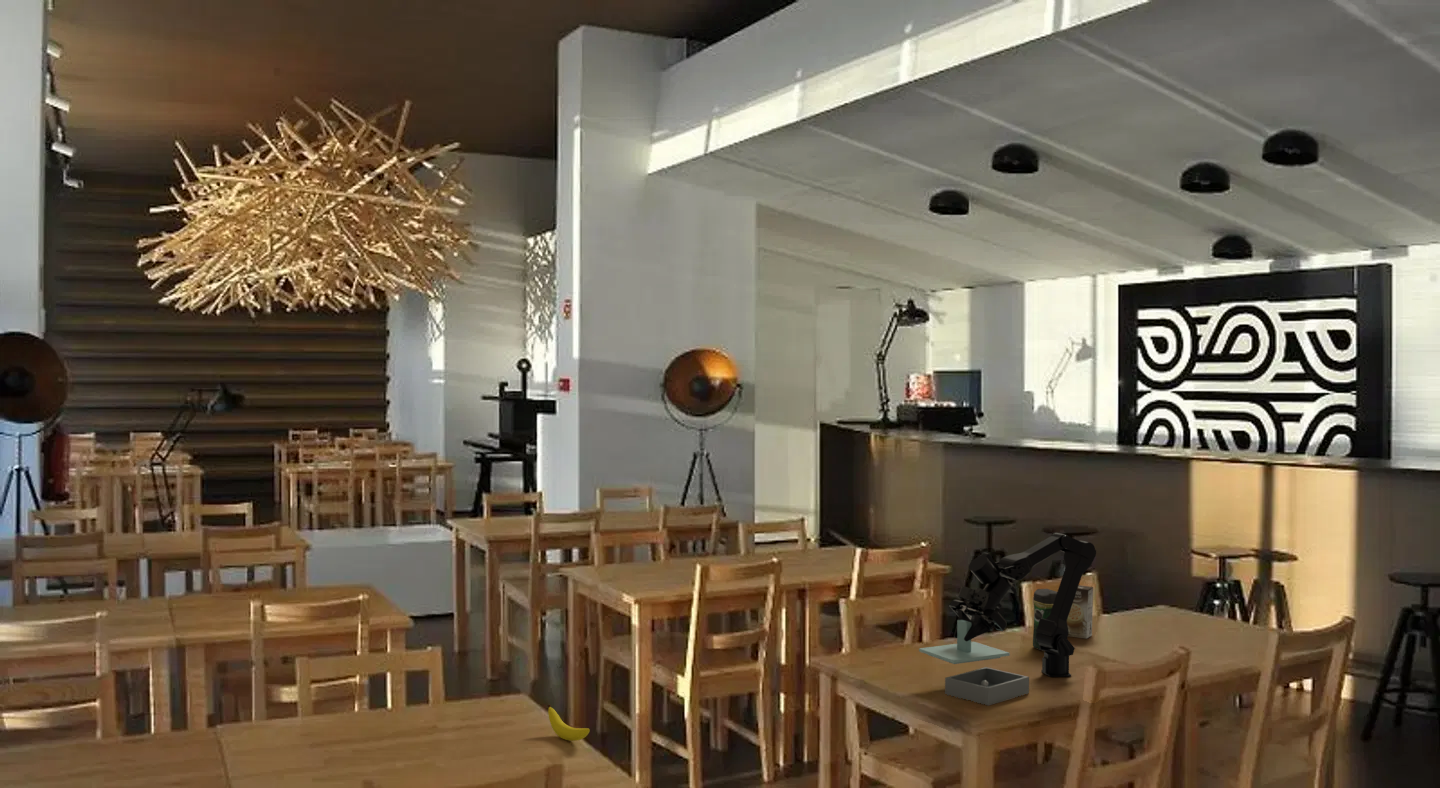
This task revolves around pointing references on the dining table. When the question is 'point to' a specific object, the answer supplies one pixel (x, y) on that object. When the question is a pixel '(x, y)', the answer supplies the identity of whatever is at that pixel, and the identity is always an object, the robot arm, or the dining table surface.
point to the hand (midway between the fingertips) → (960, 638)
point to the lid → (964, 648)
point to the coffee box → (1081, 613)
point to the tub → (987, 685)
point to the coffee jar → (1042, 608)
